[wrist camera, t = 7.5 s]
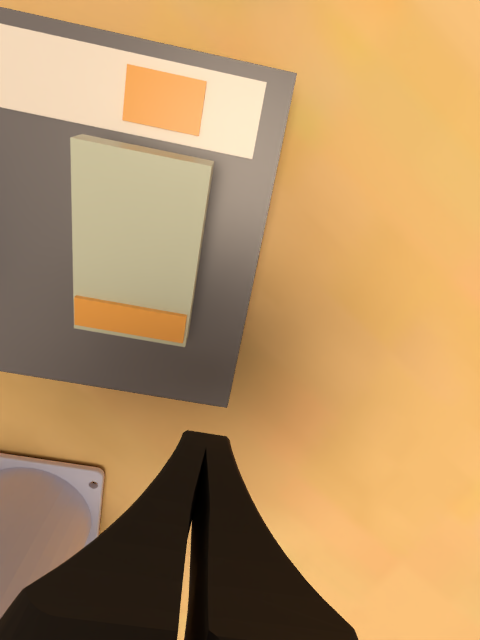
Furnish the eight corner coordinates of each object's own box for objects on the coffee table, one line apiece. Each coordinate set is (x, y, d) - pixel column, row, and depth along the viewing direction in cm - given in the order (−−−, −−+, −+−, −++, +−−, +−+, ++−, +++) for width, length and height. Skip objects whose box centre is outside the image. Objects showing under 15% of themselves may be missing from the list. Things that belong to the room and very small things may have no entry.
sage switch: (188, 333, 17) (184, 350, 16) (83, 315, 17) (71, 330, 16) (214, 161, 14) (211, 167, 13) (81, 133, 13) (67, 138, 12)
